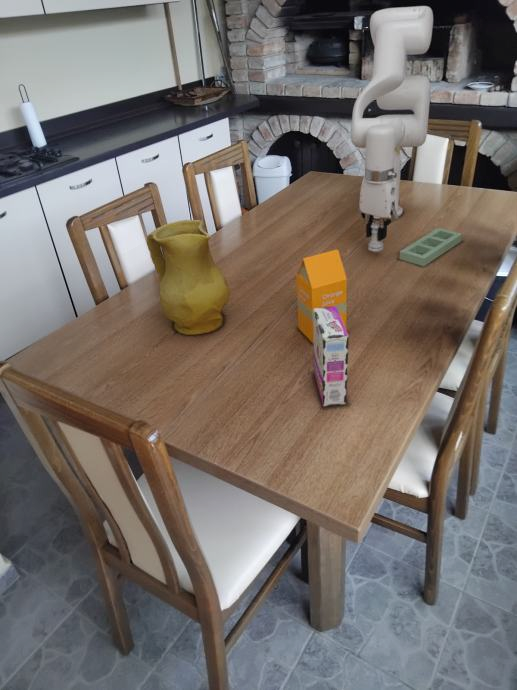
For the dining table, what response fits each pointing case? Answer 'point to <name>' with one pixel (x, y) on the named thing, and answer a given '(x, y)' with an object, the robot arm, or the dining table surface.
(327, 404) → the candy bar box
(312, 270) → the orange juice
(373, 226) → the rook chess piece
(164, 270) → the pitcher
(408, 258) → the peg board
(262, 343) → the dining table surface
